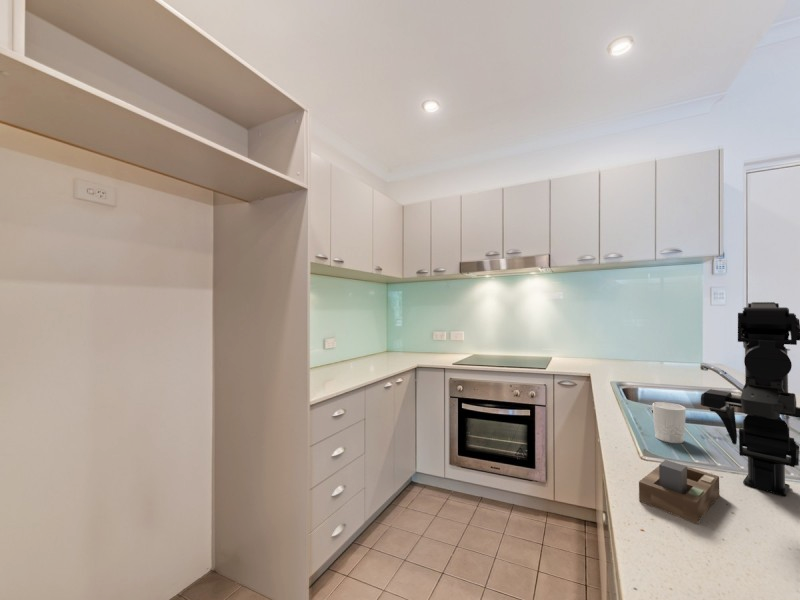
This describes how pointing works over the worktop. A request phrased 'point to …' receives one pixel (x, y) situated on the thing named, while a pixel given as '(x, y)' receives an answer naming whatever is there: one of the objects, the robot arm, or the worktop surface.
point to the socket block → (685, 506)
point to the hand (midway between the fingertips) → (767, 451)
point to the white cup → (669, 422)
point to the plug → (673, 476)
